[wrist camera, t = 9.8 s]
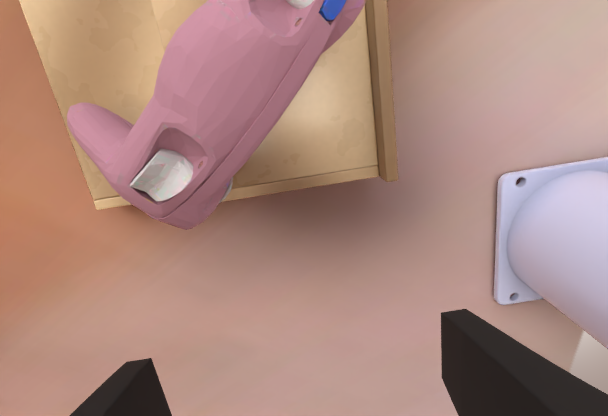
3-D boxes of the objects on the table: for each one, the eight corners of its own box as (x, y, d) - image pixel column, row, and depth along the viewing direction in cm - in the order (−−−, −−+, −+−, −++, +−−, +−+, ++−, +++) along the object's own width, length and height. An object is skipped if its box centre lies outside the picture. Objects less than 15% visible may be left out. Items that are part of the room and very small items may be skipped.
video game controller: (178, 171, 15) (208, 281, 10) (61, 117, 12) (19, 232, 7) (315, -32, 13) (446, -28, 8) (212, -158, 10) (312, -284, 5)
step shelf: (344, -148, 13) (371, -260, 9) (371, 159, 17) (398, 180, 13) (7, -94, 13) (-122, -181, 9) (111, 201, 17) (55, 236, 13)
